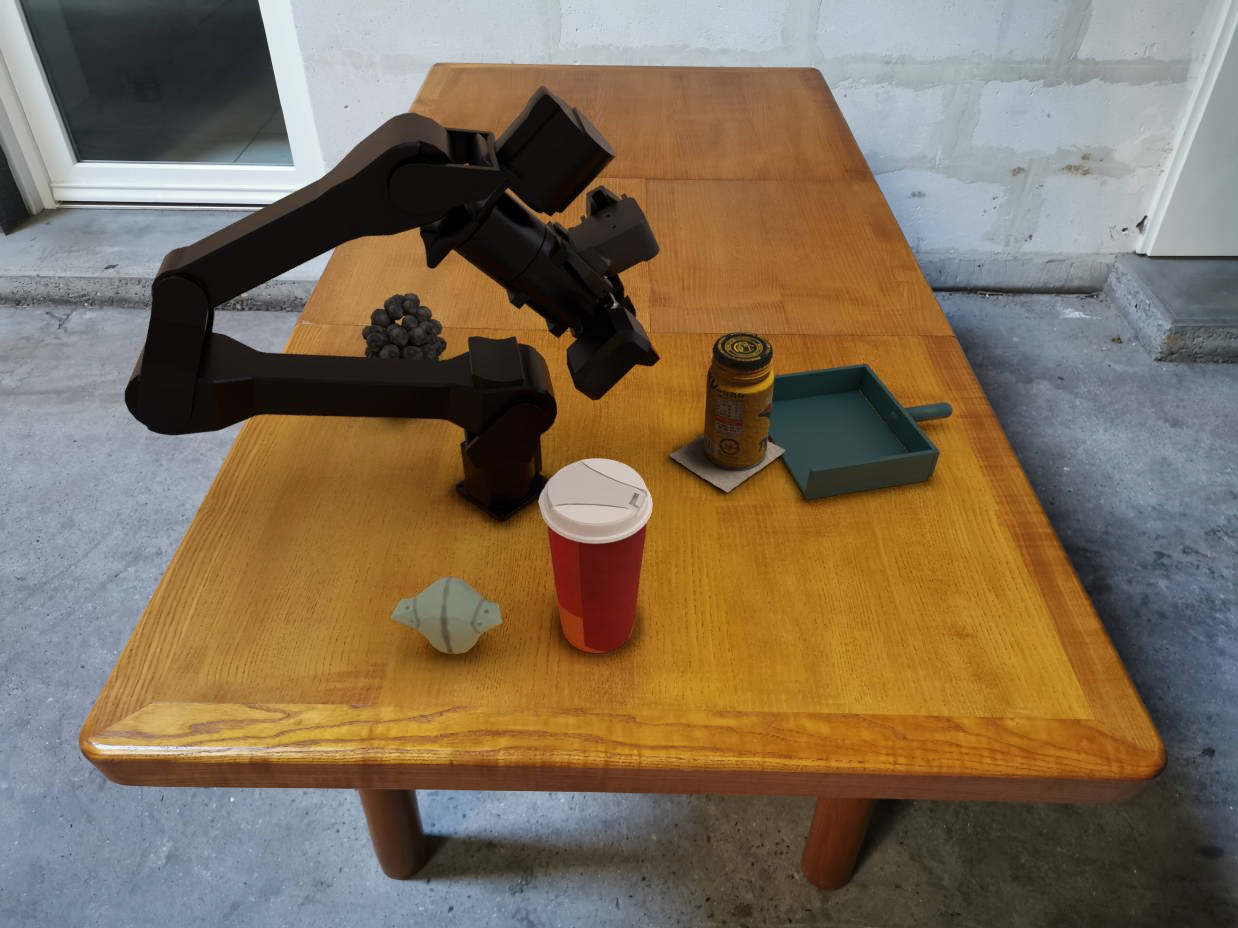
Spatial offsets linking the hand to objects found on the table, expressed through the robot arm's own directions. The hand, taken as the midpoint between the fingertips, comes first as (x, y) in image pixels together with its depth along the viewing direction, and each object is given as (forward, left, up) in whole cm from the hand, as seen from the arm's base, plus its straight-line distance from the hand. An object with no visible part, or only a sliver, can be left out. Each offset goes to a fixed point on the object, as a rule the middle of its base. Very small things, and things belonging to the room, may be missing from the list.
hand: (655, 360), depth 75 cm
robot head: (-26, -3, -12) cm, 29 cm away
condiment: (+6, -4, -12) cm, 14 cm away
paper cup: (-17, -9, -12) cm, 23 cm away
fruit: (-7, +28, -12) cm, 31 cm away
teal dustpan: (+18, -12, -12) cm, 25 cm away
